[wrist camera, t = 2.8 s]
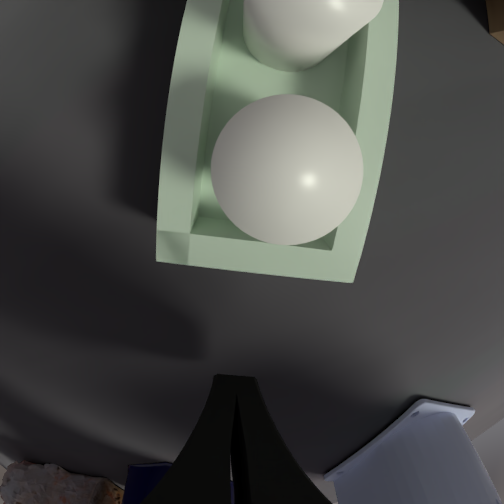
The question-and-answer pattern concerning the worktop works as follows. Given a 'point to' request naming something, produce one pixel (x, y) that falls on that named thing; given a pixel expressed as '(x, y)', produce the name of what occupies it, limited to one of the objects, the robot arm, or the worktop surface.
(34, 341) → the worktop surface
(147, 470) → the bottle
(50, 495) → the food item
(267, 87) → the tray
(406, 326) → the worktop surface
